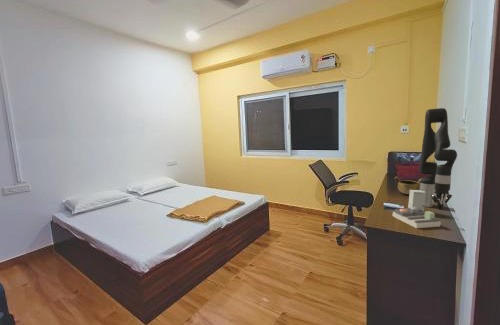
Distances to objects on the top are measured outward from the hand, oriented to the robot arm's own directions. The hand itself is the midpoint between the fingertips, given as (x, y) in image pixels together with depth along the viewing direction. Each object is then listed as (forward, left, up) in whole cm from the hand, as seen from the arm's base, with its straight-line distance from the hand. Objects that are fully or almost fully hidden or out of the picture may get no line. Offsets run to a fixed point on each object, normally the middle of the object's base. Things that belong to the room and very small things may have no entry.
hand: (439, 209), depth 149 cm
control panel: (-6, -11, -9) cm, 15 cm away
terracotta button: (-11, -15, -6) cm, 19 cm away
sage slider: (0, -7, -6) cm, 9 cm away
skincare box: (-22, +4, -9) cm, 24 cm away
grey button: (-11, -7, -5) cm, 14 cm away
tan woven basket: (-61, +31, -9) cm, 69 cm away
